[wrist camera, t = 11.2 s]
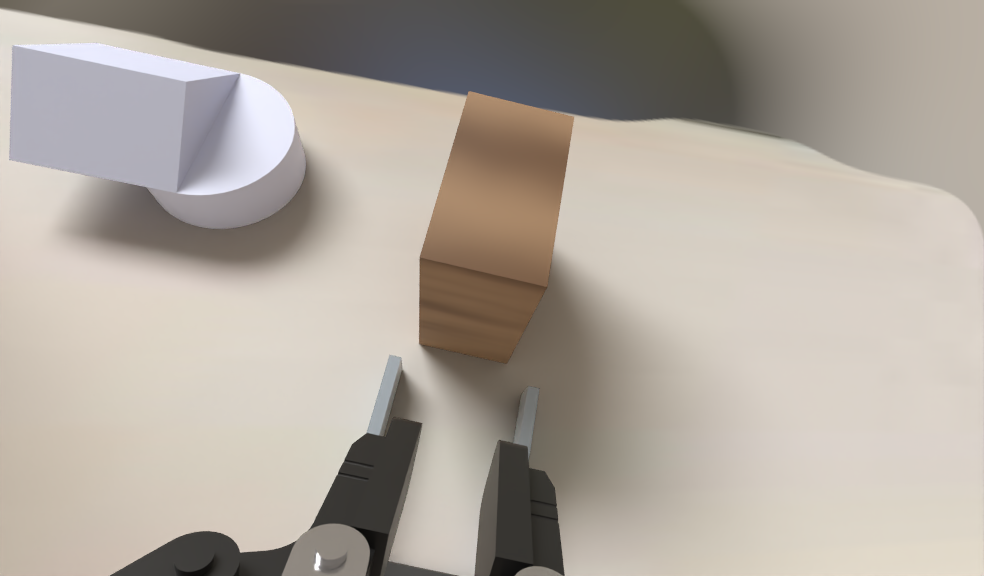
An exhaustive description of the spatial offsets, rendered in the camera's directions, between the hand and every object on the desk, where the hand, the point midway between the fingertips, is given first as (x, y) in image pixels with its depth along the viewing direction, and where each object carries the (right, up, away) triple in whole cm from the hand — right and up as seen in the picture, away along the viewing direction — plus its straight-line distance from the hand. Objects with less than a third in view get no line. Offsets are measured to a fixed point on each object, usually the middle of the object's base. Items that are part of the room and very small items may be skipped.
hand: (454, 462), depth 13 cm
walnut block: (0, +5, +18) cm, 18 cm away
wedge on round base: (-17, +12, +19) cm, 28 cm away
